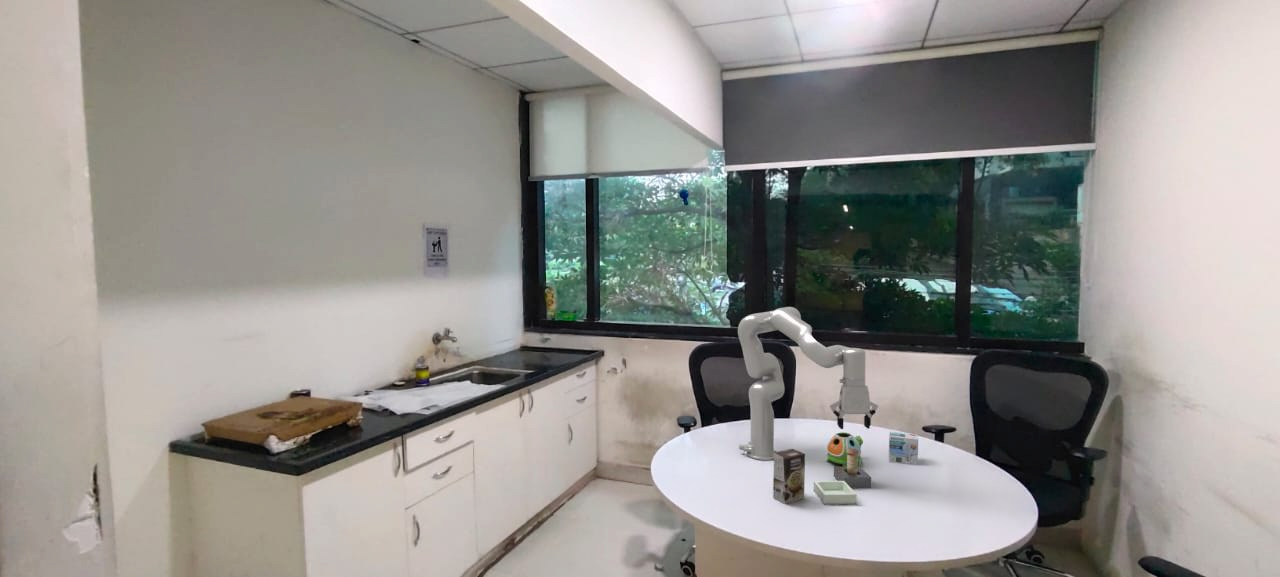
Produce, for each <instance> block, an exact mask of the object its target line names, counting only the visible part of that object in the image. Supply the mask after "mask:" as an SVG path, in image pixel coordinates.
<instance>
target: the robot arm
mask: <svg viewBox="0 0 1280 577" xmlns="http://www.w3.org/2000/svg"><path fill="white" fill-rule="evenodd" d="M774 331H779V332H781V333H782V334H784V335H785V336H786V337H788V338H789V339H790V340H792V341H794V342H795V343H796V344H798V347H799V349H800V350H801V352H802V353H803V355H805V357H807V358H808V359H810V361H812V362H813V363H815V364H816V365H818V366H820V367H821V368H824V369H830V368H834V367H837V366H842V368H843V370H842V371H843V372H842V373H843V375H842V378H840V379H839V383H841V387H840V391H839V399H838V401H836V402H835V403H832V404H830V406H829V407H830V410H831V411H832V413H833V414H834V415H835V416H836V417H837V418H836V419H837V420H836V424H837V426H838V428H839V429H841V430H843V429H844V418H843V417H844V416H845V415H864V414H865V415H864V417H863V426H864V427H865V428H866V429H868V430H869V429H870V427H871V425H872V418H873V415H875V414H876V411H877V410H878V408H879V405H878V404H876V403H874V402H871V400H870V399H871V398H870V392H869V387H868V385H866V351H865V350H864V349H863V348H859V347H848V346H845V345H840V344H835V345H831V346H827V347H826V346H825V345H823V344H822V343H820V342H819V341H817V340H816V339H815V338H814V336H813V335H812V332H813V327H812V325H810V324H808V323H807V322H806V321H804V320H802V316H801V313H800V311H799V310H798V309H797V308H795V307H793V306H785V307H779V308H776V309H774V310H770V311H764V312H757V313H752V314H749V315H747V316H745V317H743V318H742V319H741V320H740V322H739V324H738V327H737V335H738V340H739V342H740V345H741V350H742V355H743V359H744V364H745V368H746V371H747V374H748V376H750V377H751V378H752V379H761V378H762V380H759V381H756V382H754V383H752V385H751V386H750V387H749V390H748V399H749V400H748V401H749V406H750V407H749V408H750V441H749V442H748V443H747V444H746V445H745V444H739V446H738V447H739V448H738V450H740V451H741V450H742V451H743V452H746V455H747V456H748V458H751V459H753V460H757V461H758V460H759V461H771V460H774V453H775V452H777V450H775V449H774V446H775V444H774V440H775V438H774V437H775V436H774V435H775V433H774V432H775V419H774V418H775V413H774V409H773V408H774V407H773V406H772V403H773V401H776V400H779V399H781V398H783V396H784V394H785V383H784V378H783V374H782V369H781V367H780V363H779V361H778V359H777V357H776V356H775V355H774V354H773V353H771V352H764V348H763V344H762V341H761V339H760V338H759V337H758V335H759V334H764V333H769V332H774ZM837 408H838V409H839V410H838V411H837Z"/></svg>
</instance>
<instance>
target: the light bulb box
mask: <svg viewBox="0 0 1280 577" xmlns="http://www.w3.org/2000/svg"><path fill="white" fill-rule="evenodd" d="M888 435H889V439H888V441H889V442H888V462H889V463H897V464H902V465H903V464H905V465H911V466H918V462H919V460H918V459H919V456H918V455H919V436H918V434H916V433H906V432H898V431H897V432H895V431H889V434H888Z"/></svg>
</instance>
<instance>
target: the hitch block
mask: <svg viewBox="0 0 1280 577" xmlns="http://www.w3.org/2000/svg"><path fill="white" fill-rule="evenodd" d="M834 477H835V478H834ZM833 478H834V480H835V481H845V482H846V483H847V484H848V486H849V487H850V488H851V489H872V476H871V475H869V474H868V472H867V471H865V470H864V468H862V467H861V465H860V466H858V467H857V475H848V474H847V467H842V466H833Z"/></svg>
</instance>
